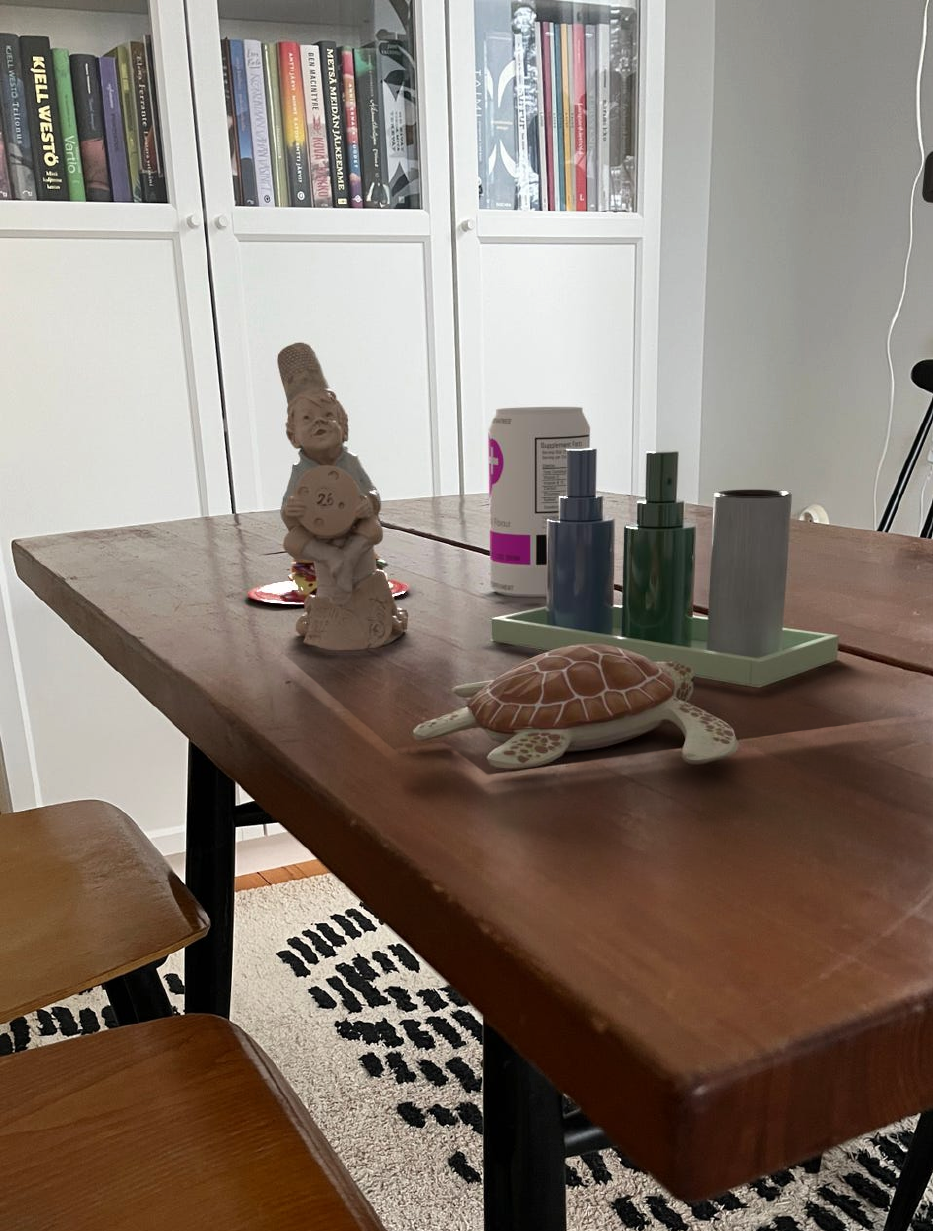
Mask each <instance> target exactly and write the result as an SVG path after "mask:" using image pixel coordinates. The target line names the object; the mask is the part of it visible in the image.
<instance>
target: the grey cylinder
mask: <svg viewBox="0 0 933 1231" xmlns="http://www.w3.org/2000/svg"><path fill="white" fill-rule="evenodd" d="M792 499H793V494H792V493H791V492H790V491H786V490H780V489H779V490H778V489H777V490H776V489H751V488H749V489H729V490H720V491H716V492H715V493H714V495H713V505H712V506H713V507H712V508H713V509H712V510H713V511H712V528H711V548H710V567H709V568H710V571H709V588H708V589H709V590H708V611H707V612H708V613H707V617H708V629H707V650H708V651H715V652H721V653H727V654H734V655H740V656H746V657H753V658H756V659H757V658H760V657H763V656H766V655H769V654H772V653H775V652H778V651H781V645H782V631H783V628H784V614H785V602H786V587H787V574H788V573H787V572H788V558H789V544H790V532H791V531H790V530H791V516H792V501H793V500H792Z"/></svg>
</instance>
